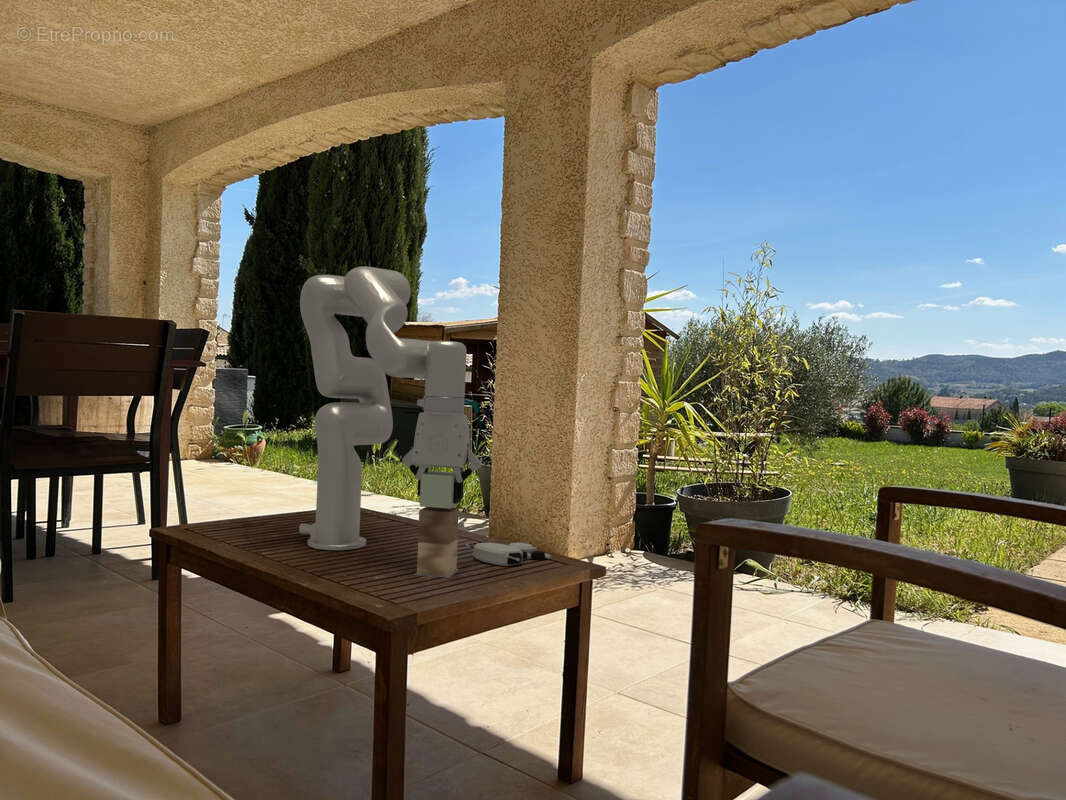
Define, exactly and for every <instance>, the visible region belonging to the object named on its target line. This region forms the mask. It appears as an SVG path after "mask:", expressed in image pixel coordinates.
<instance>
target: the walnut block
mask: <svg viewBox="0 0 1066 800" xmlns="http://www.w3.org/2000/svg"><path fill="white" fill-rule="evenodd" d="M459 509H460V508H459V507H456V506H454V507H453V508H451V509H449V508H436V507H423V508H421V509H419V511H418V529H417V530H418V532H417V543H418V542H422V543H434V544H446V545H449V544H451V543H452V542H453V541H455V540H456V539H458V532H459V516H460V515H459V512H460V510H459Z"/></svg>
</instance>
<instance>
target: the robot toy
mask: <svg viewBox="0 0 1066 800" xmlns="http://www.w3.org/2000/svg"><path fill="white" fill-rule="evenodd" d="M465 546H466V547H469V548H473V552H472V553H473V557H474V558H475V559H476V560H478V561H480V562H482V563H487V564H491V565H496V566H503V567H509V566H510V567H512V566H516V565H521V564H522V563H523V560H530V559H531V560H534V561H545V559H551V558H552V555H551V554H549V553H545V551H543V550H538V549H537V548H538V547H534V546H533V545H532V544H530V543H526V542H511V543H509V544H508V545H507V544H504V543H498V542H497V543H495V542H478V543H476V544H475V545H471V544H468V543H466V544H465Z"/></svg>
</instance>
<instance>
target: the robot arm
mask: <svg viewBox="0 0 1066 800" xmlns="http://www.w3.org/2000/svg"><path fill="white" fill-rule="evenodd" d="M411 291H412V290H411V285H410V282H409V281H408V279H407V277H406V276H405V275H404V274H403V273H401V272H399V271H396V270H392V269H385V268H378V267H373V266H357V267H354V268H352V269H350V270H349V271H348V272H347V274H345V276H342V275H341V276H340V275H334V274H317V275H314V276H311V277H309V278H308V279H306V281H305V282H304V284H303V286H302V289H301V291H300V297H299V298H300V299H299V308H300V314H301V318H302V322H303V324H304V325H303V326H304V327H305V329H306V332H307V335H308V338H309V343H310V350H311V358H312V363H313V364H312V365H313V372H314V377H315V384H316V388H317V390H318V392H319V393H320V394H321V395H322V396H324V397H326V398H332V399H358V400H359V402H357V401H356V402H355V401H354V402H353V401H348V402H347V401H340V402H339V401H337V402H336V401H334V402H330V403H327V404H325V405H323V406H321V407H320V408H319V409H318V410H317V412H316V414H315V418H314V429H315V437H316V444H317V480H316V482H317V483H316V486H317V487H316V501H315V502H316V504H315V505H316V508H315V509H316V510H315V523H312V524H309V523H300V525H299V528H298V530H299V533H300V534H305V535H306V534H307V535H309V536H310V538H308V539H307V546H308V547H310V548H313V549H316V550H322V551H323V550H325V551H349V550H356V549H361V548H363V547H366V545H367V539H366V538H365V537H363V536H360V527H361V505H362V503H361V501H362V481H363V480H362V478H363V466H362V461H361V458H360V455H358V453H357V451H356V450H355V446H363V445H364V446H368V445H369V446H371V445H381V444H383V443H385V442H388V440H390V437H391V435H392V433H393V428H394V423H393V420H394V419H393V412H392V406H391V400H390V393H389V388H388V379H387V376H386V375H388V376H390V377H393V378H406V379H409V378H411V379H419V380H423V379H424V380H425V382H424V395H423V398H417V400H416V404H417V407H422V410H423V412H419V414H418V418H417V421H416V422H417V423H416V427H415V433H414V440H413V441H414V442H413V447H412V448H411V449H410V450H409V451H408V452H407V453H406V454H405V455H404V456H403V457H402V459H401V460H402V463H404V465H405V466H406V467H407V468H408V469H409V470H410V471H411V473H412V474H413V476H414V477H415V479H416V480H417V493H416V494H417V496H418V497H419V498H418V500H419V502H420V485H421V474H423V473H426V472H429V471H430V468H431V467H435V468H449V469H452V470H453V472H454V475H455V478H456V479H455V482H454V494H453V503H454V504H457V503H459V504H460V502H461V500H462V499H463V497H464V483H465V481H466V480H467V479H468V478H469V477H470V476H471V475H472V474H473V473H474V472H475V471H477V470H478V469H479V468H480V467H482V462H481V461H480V459H479V458H478V457H477V455H475V453H474V452H473V451H472V449H471V447H470V446H471V445H470V444H471V443H470V440H471V439H470V428H469V427H470V426H469V418H468V415H467V414H465V396H466V395H465V394H466V393H465V391H466V372H467V371H466V370H467V346H466V345H465V344H464V343H462V342H459V341H452V340H451V341H450V340H449V341H448V340H423V339H415V338H413V339H412V338H403V337H402V338H401V337H398V336H396V334H394V333H396V332H397V331H399V330H400V329H402V327H403V326H404V324H406V321H407V319H408V307H407V304H408V303H409V301H410V298H411ZM335 315H342V316H352V317H353V316H354V317H361V318H363V319H364V321H365V322H366V323H367V326H366V329H365V343H366V345H365V346H366V349H367V351H368V354H369V356H370V357H371V358H369V357H361V356H360V357H359V356H354V355H353V354H352V350H351V347H350V339H349V335H348V333H347V331H346V330H345V328H344V326H343V325H342V323H340V321H339V320H338V319H337V318H336V317H335ZM469 462H470V466H468V467H467V468H466V469H465V470H464V466H465V465H468V463H469Z"/></svg>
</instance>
